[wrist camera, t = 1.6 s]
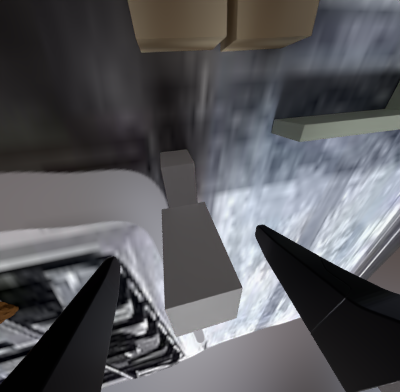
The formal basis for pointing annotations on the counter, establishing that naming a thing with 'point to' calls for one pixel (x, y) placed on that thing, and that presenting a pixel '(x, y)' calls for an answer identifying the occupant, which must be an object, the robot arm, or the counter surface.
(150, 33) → the chip
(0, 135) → the counter surface
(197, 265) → the grey stepped block
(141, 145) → the counter surface
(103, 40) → the counter surface
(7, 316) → the primitive tool
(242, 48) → the chip
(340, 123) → the green u-shaped frame
